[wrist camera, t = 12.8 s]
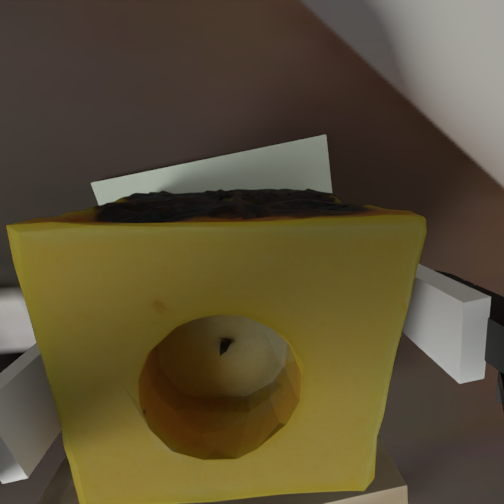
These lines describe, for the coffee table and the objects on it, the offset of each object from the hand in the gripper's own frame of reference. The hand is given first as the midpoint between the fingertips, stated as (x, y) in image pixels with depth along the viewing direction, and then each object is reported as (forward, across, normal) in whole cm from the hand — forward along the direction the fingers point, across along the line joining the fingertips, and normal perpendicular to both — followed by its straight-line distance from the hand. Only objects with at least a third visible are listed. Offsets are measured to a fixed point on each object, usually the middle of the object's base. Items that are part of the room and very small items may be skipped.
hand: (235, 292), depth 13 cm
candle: (+4, 0, 0) cm, 4 cm away
